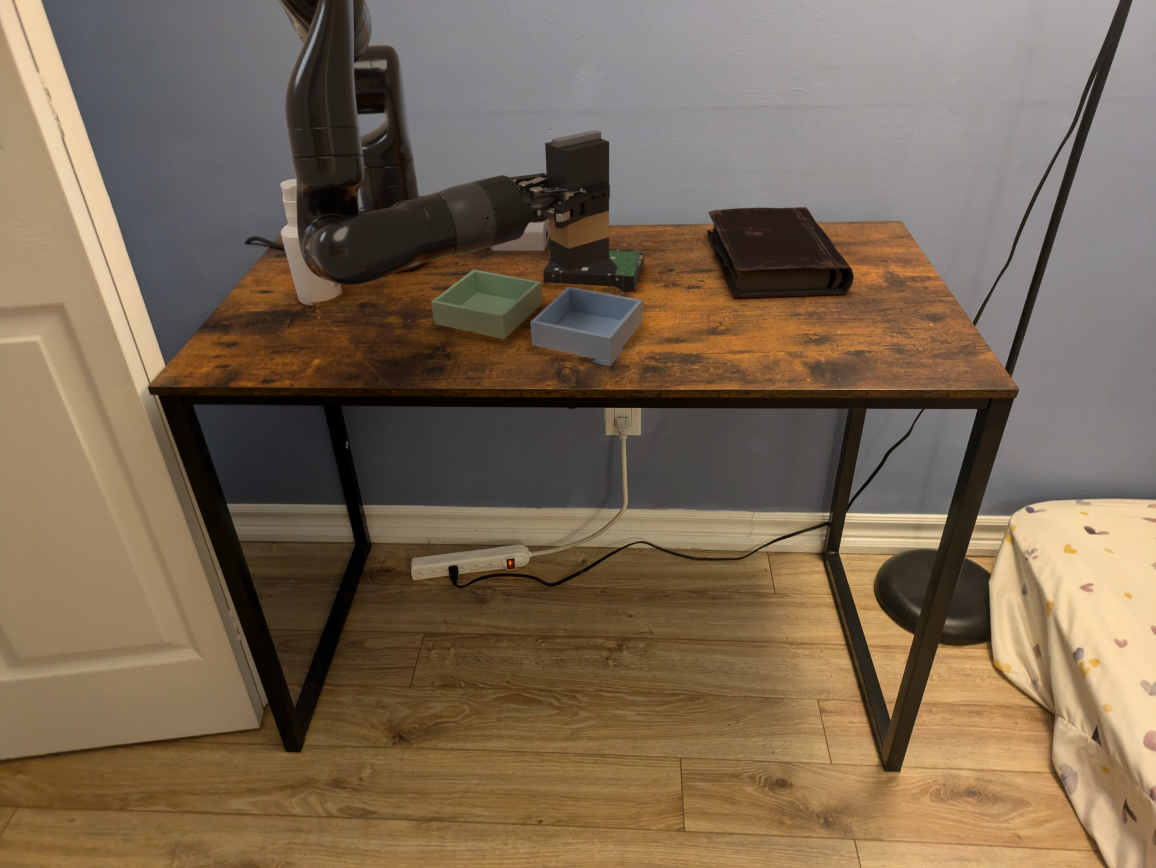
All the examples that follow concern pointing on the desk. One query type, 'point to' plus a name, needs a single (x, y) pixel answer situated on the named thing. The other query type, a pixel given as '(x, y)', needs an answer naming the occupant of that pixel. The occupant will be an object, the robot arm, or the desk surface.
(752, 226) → the diary
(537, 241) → the charger
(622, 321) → the right bin
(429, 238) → the robot arm
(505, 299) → the left bin
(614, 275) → the disk drive
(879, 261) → the desk surface
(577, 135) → the coffee bag
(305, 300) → the spray bottle
